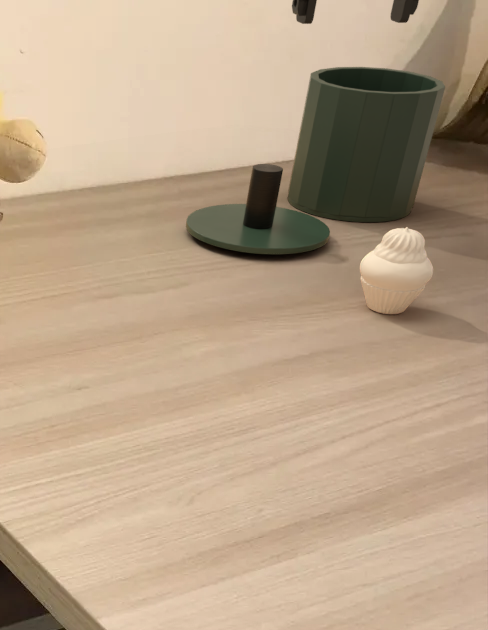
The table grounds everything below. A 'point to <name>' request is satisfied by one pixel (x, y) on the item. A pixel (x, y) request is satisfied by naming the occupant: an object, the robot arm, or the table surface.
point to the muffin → (395, 271)
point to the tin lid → (259, 221)
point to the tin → (363, 143)
